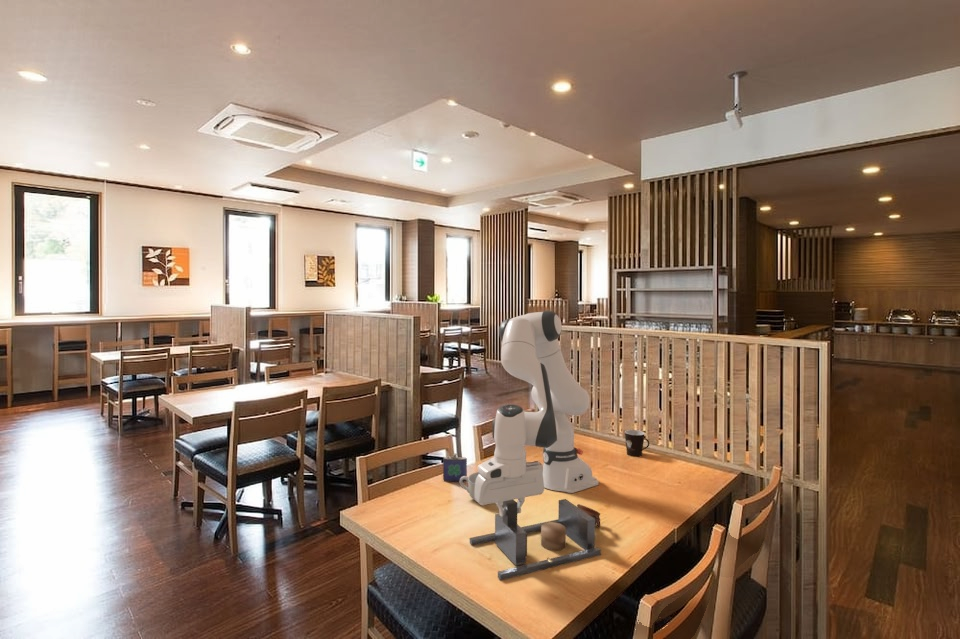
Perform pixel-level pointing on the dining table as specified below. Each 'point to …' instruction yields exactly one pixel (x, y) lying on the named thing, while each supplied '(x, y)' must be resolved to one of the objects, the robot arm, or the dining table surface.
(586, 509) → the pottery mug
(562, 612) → the dining table surface
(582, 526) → the press frame
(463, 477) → the teacup
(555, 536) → the brown short cylinder
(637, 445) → the coffee mug
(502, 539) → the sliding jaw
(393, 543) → the dining table surface
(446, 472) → the flask
